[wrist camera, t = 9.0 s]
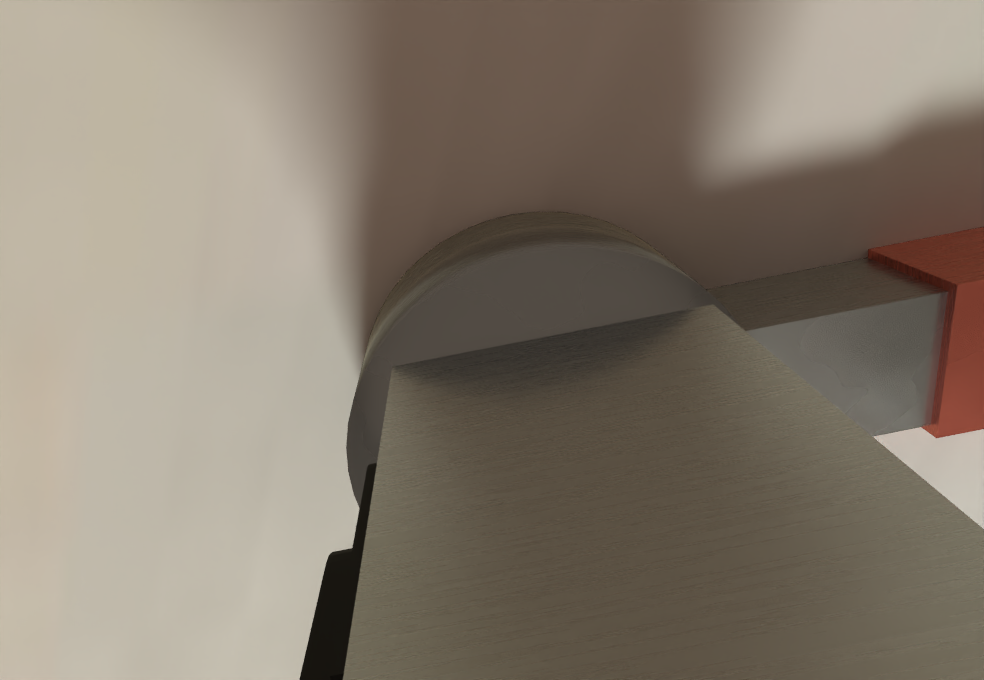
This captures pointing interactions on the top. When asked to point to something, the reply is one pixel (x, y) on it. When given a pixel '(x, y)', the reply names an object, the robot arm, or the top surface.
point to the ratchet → (665, 288)
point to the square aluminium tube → (652, 522)
